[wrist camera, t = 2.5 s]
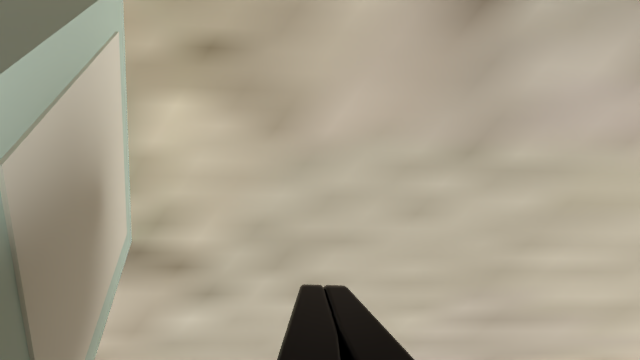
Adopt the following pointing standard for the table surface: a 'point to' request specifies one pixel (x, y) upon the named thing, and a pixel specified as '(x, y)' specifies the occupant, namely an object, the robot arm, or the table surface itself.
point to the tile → (61, 175)
